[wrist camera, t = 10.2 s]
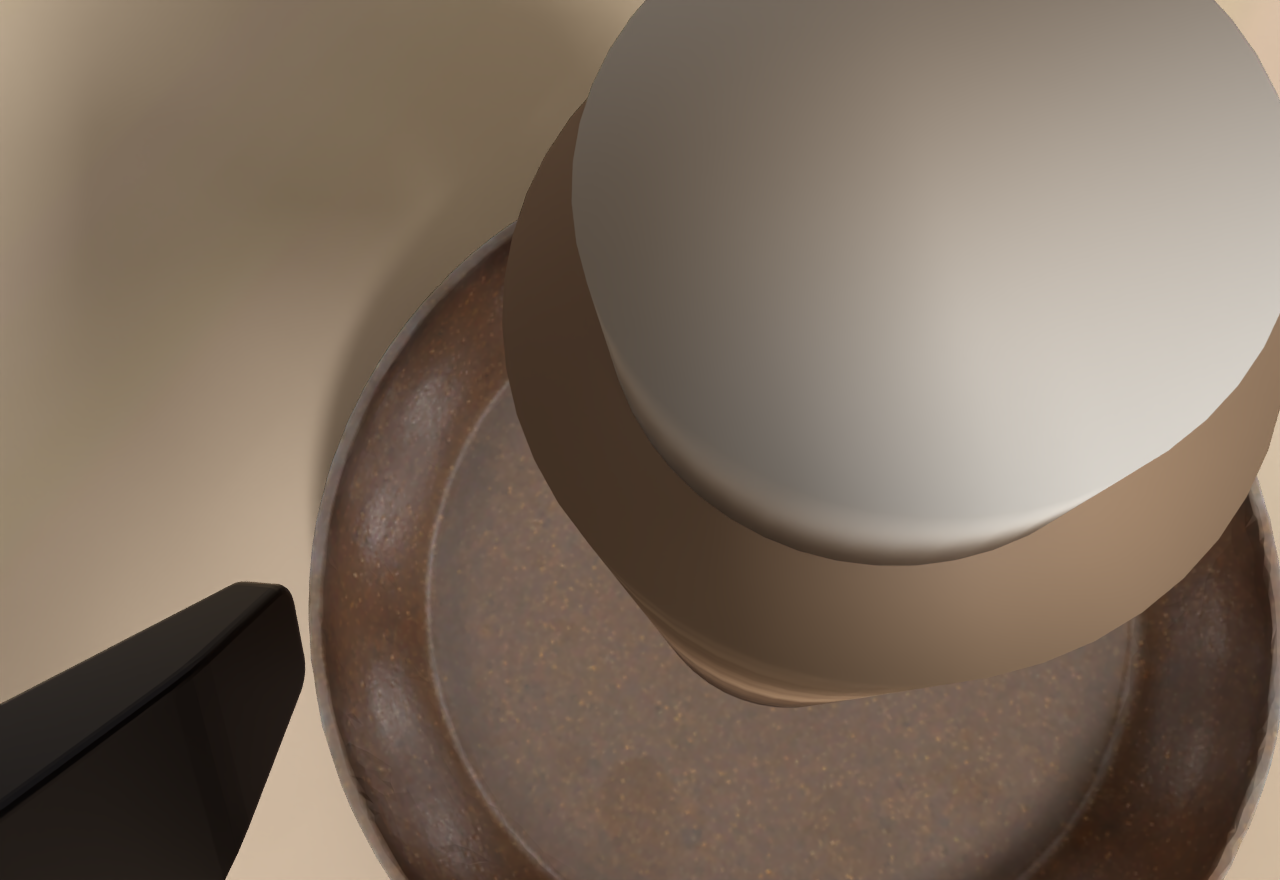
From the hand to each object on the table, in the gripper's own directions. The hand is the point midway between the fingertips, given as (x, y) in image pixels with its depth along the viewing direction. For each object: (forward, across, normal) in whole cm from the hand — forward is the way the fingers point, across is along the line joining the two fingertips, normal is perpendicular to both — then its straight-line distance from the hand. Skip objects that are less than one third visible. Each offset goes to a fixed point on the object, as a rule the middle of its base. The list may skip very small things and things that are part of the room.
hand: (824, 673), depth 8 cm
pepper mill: (+9, 0, +5) cm, 10 cm away
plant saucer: (+11, 0, +7) cm, 13 cm away
